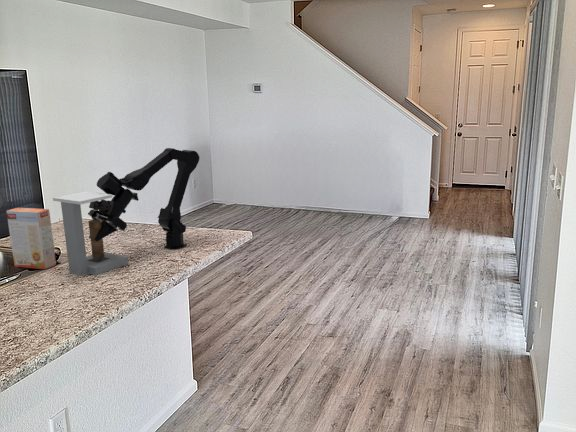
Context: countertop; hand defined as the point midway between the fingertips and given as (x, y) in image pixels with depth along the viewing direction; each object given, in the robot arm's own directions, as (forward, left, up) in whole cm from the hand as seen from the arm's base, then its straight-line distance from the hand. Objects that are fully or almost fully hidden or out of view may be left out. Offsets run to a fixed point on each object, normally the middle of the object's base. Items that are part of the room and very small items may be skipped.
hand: (92, 239), depth 184 cm
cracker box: (+10, -21, -10) cm, 25 cm away
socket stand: (0, 0, -10) cm, 10 cm away
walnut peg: (-1, 0, -7) cm, 7 cm away
